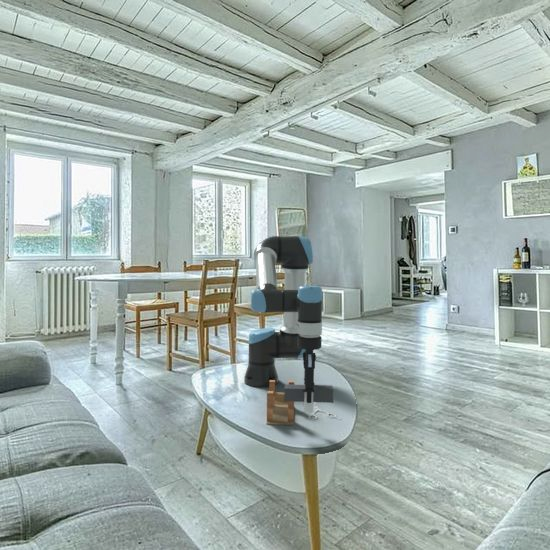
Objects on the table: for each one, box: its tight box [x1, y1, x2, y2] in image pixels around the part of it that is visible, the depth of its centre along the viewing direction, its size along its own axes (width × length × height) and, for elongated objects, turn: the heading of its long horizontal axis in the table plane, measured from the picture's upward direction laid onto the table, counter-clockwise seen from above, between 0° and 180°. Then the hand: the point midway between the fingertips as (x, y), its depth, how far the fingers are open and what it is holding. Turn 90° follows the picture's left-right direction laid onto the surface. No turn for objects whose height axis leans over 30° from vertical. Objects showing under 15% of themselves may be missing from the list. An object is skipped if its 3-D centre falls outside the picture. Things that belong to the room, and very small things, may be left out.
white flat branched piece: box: [307, 402, 341, 421], centre depth 140 cm, size 11×1×20 cm
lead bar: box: [283, 383, 334, 404], centre depth 120 cm, size 15×4×4 cm, turn 87°
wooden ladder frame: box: [265, 380, 295, 426], centre depth 134 cm, size 16×9×10 cm, turn 177°
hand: (308, 409), depth 121 cm, fingers closed on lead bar, 4 cm apart
